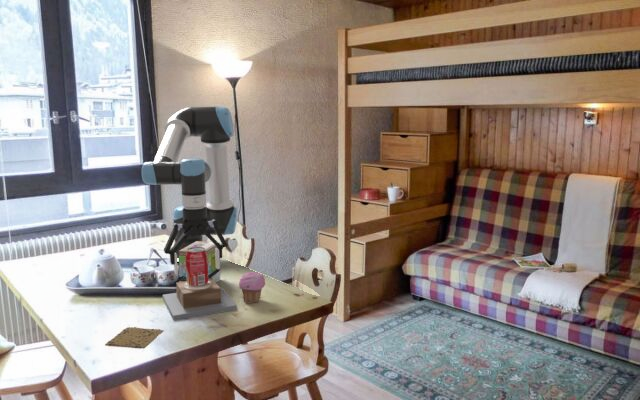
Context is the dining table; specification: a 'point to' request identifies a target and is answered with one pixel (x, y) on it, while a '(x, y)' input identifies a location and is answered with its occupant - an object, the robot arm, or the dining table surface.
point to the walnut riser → (198, 294)
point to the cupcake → (251, 286)
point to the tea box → (210, 251)
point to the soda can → (196, 267)
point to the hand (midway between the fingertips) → (197, 270)
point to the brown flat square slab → (134, 337)
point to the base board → (180, 313)
